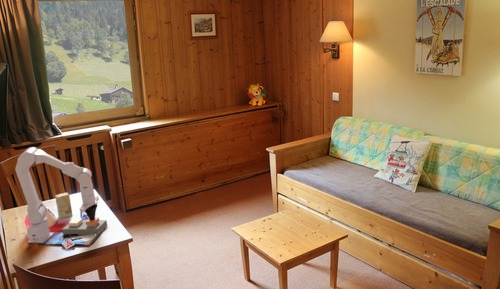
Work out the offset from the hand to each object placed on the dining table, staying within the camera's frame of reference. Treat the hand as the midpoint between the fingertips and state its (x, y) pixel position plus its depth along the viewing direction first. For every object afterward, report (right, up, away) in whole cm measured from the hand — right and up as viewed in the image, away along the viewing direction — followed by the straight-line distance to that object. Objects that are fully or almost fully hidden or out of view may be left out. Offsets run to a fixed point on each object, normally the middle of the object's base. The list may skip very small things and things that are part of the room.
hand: (92, 219), depth 208 cm
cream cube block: (-9, -5, +3) cm, 10 cm away
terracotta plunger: (0, -4, +1) cm, 5 cm away
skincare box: (-22, -2, +20) cm, 30 cm away
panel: (-4, -5, +2) cm, 7 cm away
